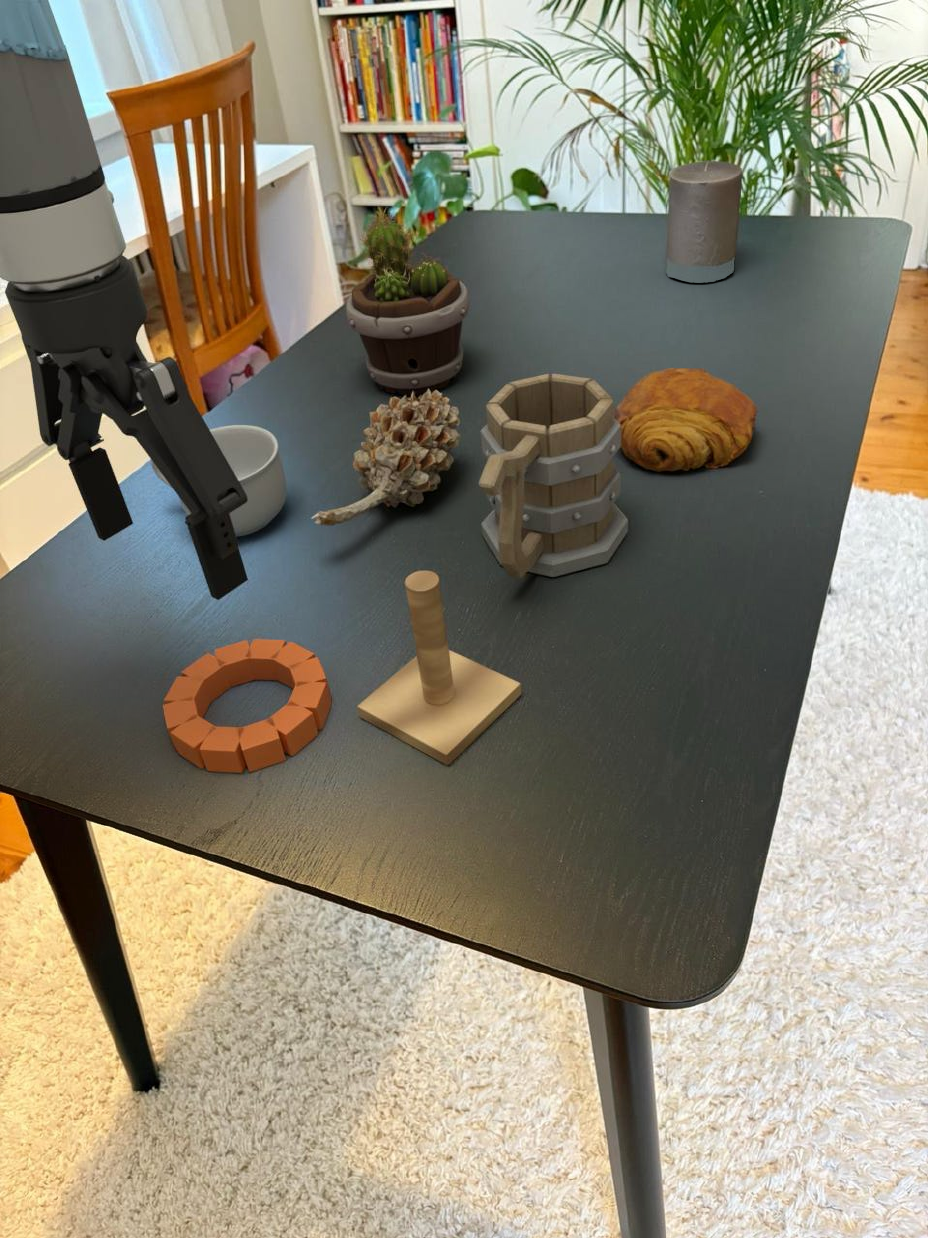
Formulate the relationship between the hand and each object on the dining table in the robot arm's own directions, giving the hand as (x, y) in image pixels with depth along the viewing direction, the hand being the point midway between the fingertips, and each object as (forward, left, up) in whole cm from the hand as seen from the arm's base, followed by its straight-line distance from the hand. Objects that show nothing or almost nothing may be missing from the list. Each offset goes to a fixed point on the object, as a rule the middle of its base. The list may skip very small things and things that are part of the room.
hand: (170, 558), depth 71 cm
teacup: (-19, +18, -13) cm, 29 cm away
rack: (+17, +9, -13) cm, 23 cm away
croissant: (+13, +54, -13) cm, 57 cm away
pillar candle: (-9, +98, -13) cm, 99 cm away
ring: (+5, 0, -13) cm, 14 cm away
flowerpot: (-23, +52, -13) cm, 58 cm away
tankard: (+12, +29, -13) cm, 34 cm away
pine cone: (-5, +28, -13) cm, 31 cm away
